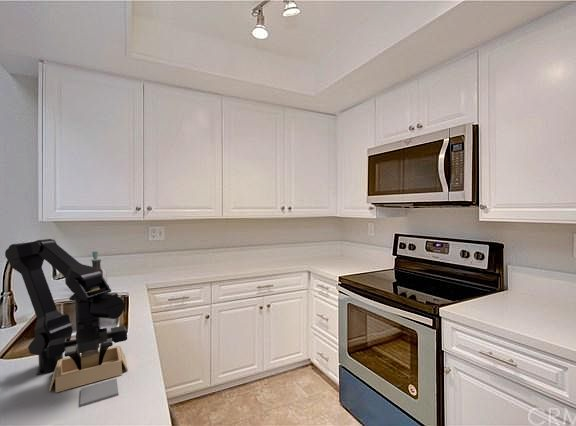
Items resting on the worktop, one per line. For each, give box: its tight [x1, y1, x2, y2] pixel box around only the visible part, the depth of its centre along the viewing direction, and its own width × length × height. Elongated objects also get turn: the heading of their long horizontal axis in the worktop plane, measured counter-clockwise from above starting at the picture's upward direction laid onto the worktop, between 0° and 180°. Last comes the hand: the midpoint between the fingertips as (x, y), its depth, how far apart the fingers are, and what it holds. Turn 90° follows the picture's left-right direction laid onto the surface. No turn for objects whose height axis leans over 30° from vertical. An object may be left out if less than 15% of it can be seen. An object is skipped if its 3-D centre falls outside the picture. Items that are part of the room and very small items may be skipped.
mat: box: [79, 377, 119, 408], centre depth 79 cm, size 8×8×1 cm
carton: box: [48, 345, 129, 393], centre depth 89 cm, size 14×18×4 cm
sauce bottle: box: [90, 258, 103, 292], centre depth 171 cm, size 6×6×20 cm
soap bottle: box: [89, 251, 108, 292], centre depth 183 cm, size 10×10×23 cm
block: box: [80, 348, 99, 370], centre depth 89 cm, size 8×4×6 cm, turn 32°
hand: (90, 370), depth 88 cm, fingers closed on block, 4 cm apart
